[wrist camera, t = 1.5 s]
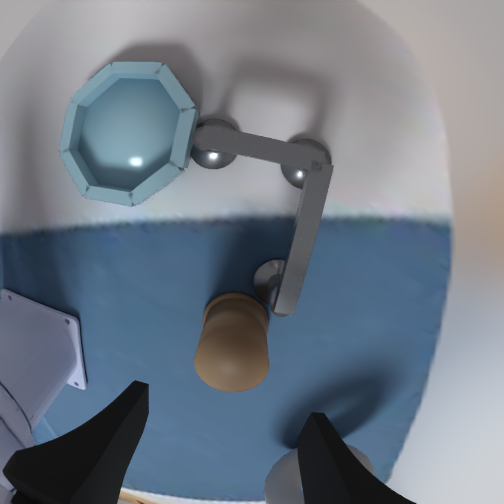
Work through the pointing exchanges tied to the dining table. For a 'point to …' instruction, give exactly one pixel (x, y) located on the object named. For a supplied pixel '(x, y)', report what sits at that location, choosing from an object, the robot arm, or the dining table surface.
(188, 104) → the dish
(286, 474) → the donut
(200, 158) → the bent rail
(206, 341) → the cylinder
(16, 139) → the dining table surface
